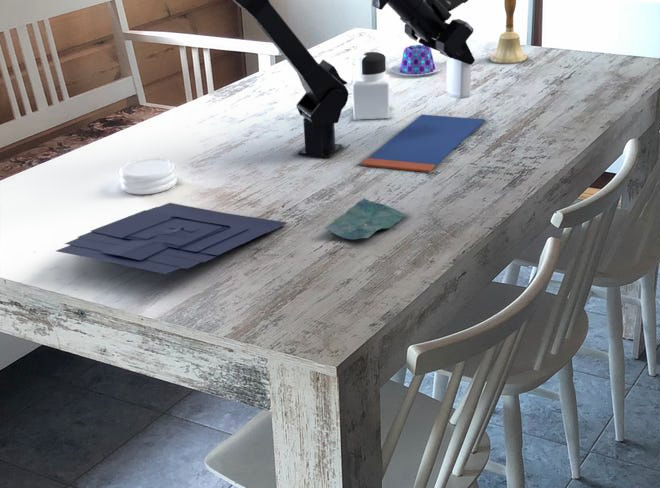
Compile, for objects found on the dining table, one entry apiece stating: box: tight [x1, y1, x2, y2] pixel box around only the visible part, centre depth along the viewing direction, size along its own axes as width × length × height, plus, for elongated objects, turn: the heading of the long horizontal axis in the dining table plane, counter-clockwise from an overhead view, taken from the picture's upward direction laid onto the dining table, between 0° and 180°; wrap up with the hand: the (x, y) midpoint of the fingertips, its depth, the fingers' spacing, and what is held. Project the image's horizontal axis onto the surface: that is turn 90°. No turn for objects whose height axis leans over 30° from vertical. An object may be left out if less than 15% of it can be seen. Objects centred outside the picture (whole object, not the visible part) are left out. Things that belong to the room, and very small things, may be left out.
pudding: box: [390, 44, 445, 77], centre depth 236 cm, size 12×12×5 cm
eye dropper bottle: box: [445, 56, 472, 100], centre depth 194 cm, size 4×6×12 cm
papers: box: [55, 202, 289, 275], centre depth 160 cm, size 24×30×4 cm
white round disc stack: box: [118, 157, 178, 195], centre depth 186 cm, size 10×10×4 cm
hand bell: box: [489, 0, 528, 65], centre depth 236 cm, size 8×8×16 cm
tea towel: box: [360, 114, 485, 173], centre depth 195 cm, size 30×13×1 cm, turn 152°
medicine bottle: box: [352, 51, 390, 121], centre depth 209 cm, size 7×7×12 cm
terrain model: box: [324, 198, 407, 240], centre depth 162 cm, size 13×8×2 cm, turn 146°
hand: (465, 59), depth 194 cm, fingers closed on eye dropper bottle, 5 cm apart
